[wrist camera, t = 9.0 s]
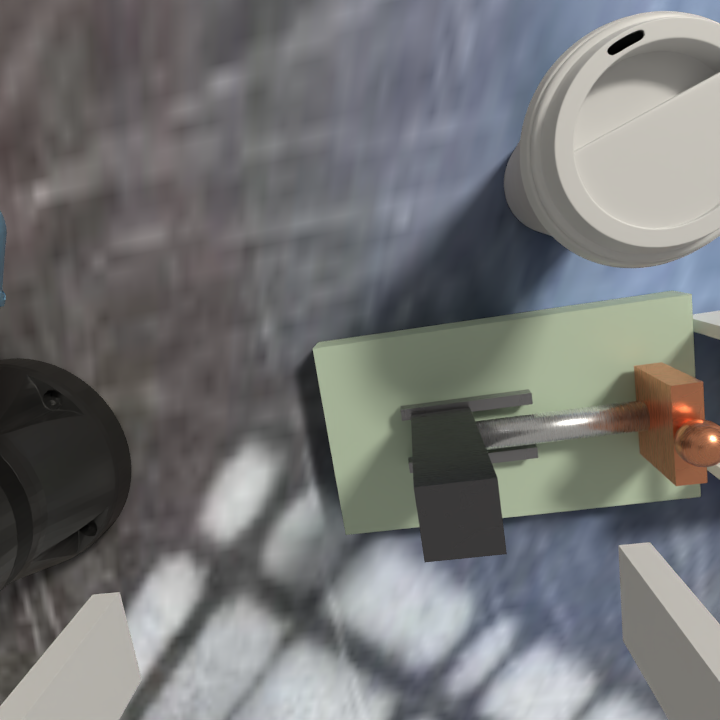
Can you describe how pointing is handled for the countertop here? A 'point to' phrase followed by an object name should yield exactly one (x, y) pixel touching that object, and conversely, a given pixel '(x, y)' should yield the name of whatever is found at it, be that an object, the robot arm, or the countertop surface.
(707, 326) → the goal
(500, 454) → the rail guide
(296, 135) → the countertop surface
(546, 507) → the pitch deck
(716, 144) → the coffee cup
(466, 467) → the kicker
